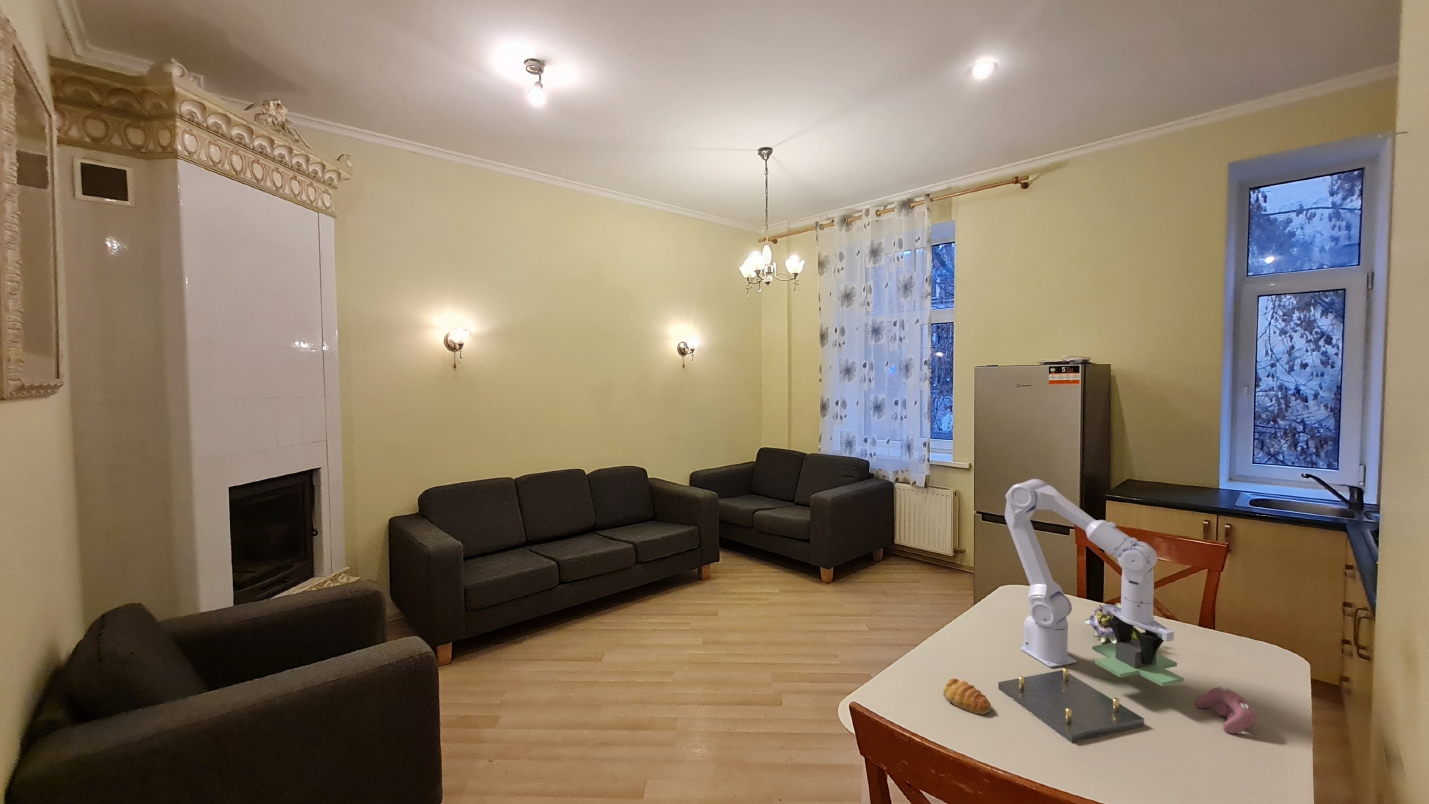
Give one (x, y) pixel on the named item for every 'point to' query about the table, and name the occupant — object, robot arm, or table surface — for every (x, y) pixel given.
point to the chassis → (1070, 705)
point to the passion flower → (1106, 626)
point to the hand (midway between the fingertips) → (1135, 657)
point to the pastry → (966, 696)
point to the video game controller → (1229, 708)
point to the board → (1144, 671)
